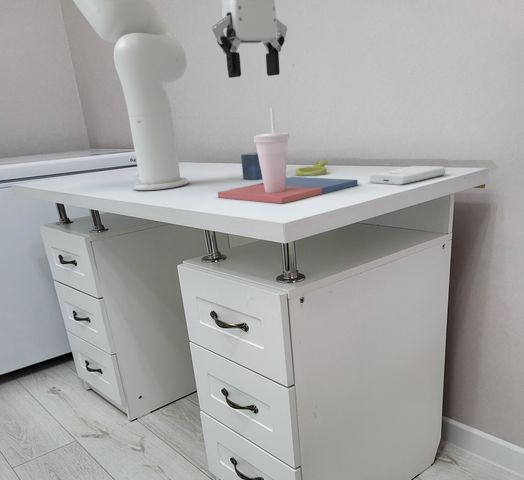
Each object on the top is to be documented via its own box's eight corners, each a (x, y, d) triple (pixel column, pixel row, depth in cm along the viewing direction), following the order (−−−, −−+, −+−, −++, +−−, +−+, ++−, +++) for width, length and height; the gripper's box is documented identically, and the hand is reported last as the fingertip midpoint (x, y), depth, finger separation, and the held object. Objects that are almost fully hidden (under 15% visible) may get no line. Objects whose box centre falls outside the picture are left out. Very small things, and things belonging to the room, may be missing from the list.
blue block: (243, 179, 127) (240, 154, 125) (257, 176, 130) (255, 152, 127) (255, 179, 124) (253, 154, 122) (270, 176, 127) (268, 152, 124)
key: (328, 168, 132) (327, 159, 132) (326, 175, 122) (325, 165, 121) (299, 170, 134) (298, 161, 133) (294, 177, 123) (294, 167, 122)
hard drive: (445, 175, 105) (402, 185, 99) (411, 173, 111) (369, 182, 105) (445, 166, 104) (403, 175, 98) (411, 165, 110) (369, 173, 104)
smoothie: (281, 193, 95) (275, 107, 89) (251, 193, 98) (243, 110, 92) (298, 187, 100) (294, 105, 94) (269, 187, 103) (262, 108, 97)
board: (218, 197, 104) (217, 192, 104) (292, 181, 116) (291, 176, 115) (282, 203, 92) (281, 197, 91) (357, 185, 103) (357, 179, 103)
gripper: (269, -22, 105) (275, 76, 113) (196, -28, 96) (207, 79, 103) (296, -31, 100) (299, 73, 107) (220, -38, 90) (230, 76, 98)
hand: (254, 76), depth 105 cm, fingers open, 9 cm apart
